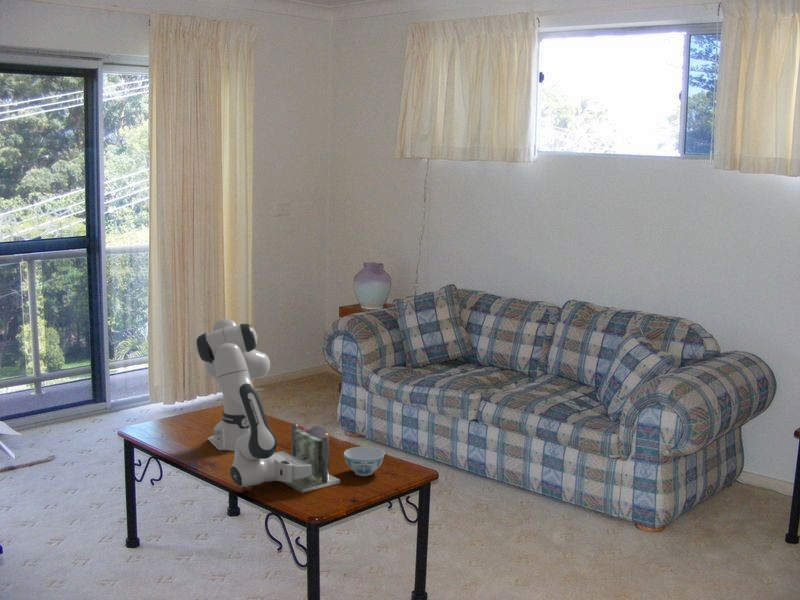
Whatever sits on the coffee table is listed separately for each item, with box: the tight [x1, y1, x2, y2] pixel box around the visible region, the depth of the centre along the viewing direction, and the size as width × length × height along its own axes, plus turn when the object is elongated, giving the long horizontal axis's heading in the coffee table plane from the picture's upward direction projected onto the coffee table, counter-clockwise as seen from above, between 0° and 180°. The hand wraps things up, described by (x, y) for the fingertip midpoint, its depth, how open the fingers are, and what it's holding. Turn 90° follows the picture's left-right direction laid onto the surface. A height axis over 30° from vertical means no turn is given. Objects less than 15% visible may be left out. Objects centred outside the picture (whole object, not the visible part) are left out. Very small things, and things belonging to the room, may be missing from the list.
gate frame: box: [280, 423, 341, 494], centre depth 313 cm, size 24×16×19 cm, turn 40°
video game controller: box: [300, 426, 313, 433], centre depth 357 cm, size 10×5×7 cm, turn 141°
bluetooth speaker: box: [308, 425, 329, 440], centre depth 336 cm, size 23×9×10 cm, turn 4°
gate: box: [295, 428, 322, 478], centre depth 315 cm, size 16×2×14 cm, turn 37°
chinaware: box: [343, 446, 385, 477], centre depth 320 cm, size 15×15×8 cm
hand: (308, 459), depth 313 cm, fingers closed
